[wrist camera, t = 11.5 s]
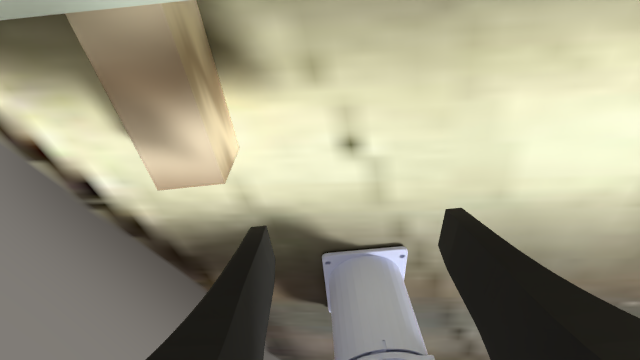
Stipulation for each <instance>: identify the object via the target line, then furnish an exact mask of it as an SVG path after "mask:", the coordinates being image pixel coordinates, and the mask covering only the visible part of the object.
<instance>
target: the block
mask: <svg viewBox="0 0 640 360" xmlns="http://www.w3.org/2000/svg"><path fill="white" fill-rule="evenodd" d="M178 1H187V0H0V20H8V19H17V18H27V17H36V16H46V15H55V14H65V13H74V12H83V11H93V10H102V9H112V8H121V7H131V6H140V5H150V4H159V3H169V2H178Z"/></svg>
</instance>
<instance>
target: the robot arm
mask: <svg viewBox="0 0 640 360" xmlns="http://www.w3.org/2000/svg"><path fill="white" fill-rule="evenodd" d="M438 246H439V249H440V252H441V255H442V257H443V260H444V263H445V265H446V268H447V270H448V272H449V274H450V276H451V278H452V280H453V282H454V284H455V286H456V288H457V290H458V291H459V293H460V295H461V297H462V299H463V301H464V303H465V305H466V307H467V309H468V310H469V312H470V314H471V316H472V318H473V320H474V322H475V324H476V326H477V328H478V330H479V332H480V335H481V337H482V340H483V342H484V344H485V347H486V349H487V352H488V354H489V357H490V359H491V360H640V318H638V317H636V316H633V315H631V314H629V313H627V312H625V311H623V310H621V309H619V308H617V307H615V306H613V305H611V304H609V303H607V302H605V301H603V300H601V299H600V298H598V297H596V296H594V295H592V294H590V293H588V292H586V291H584V290H583V289H581V288H579V287H577V286H575V285H574V284H572V283H570V282H569V281H567V280H565V279H563V278H562V277H560V276H558V275H556V274H555V273H553V272H552V271H550V270H548V269H547V268H545V267H543V266H542V265H540V264H539V263H537V262H536V261H534V260H533V259H531V258H530V257H528V256H527V255H525V254H524V253H522V252H521V251H519V250H518V249H516V248H515V247H514V246H512V245H511V244H509V243H508V242H507V241H505V240H504V239H502V238H501V237H500V236H498V235H497V234H496V233H494V232H493V231H492V230H490V229H489V228H488V227H486V226H485V225H484V224H482V223H481V222H480V221H478V220H477V219H476V218H474V217H473V216H472V215H470V214H469V213H468V212H466V211H465V210H464V209H462V208H454V209H446V211H445V216H444V220H443V225H442V229H441V234H440V239H439V243H438ZM407 254H408V251H407V248H406V247H404V246H400V247H389V248H377V249H366V250H355V251H344V252H333V253H325V254H323V255H322V262H323V270H324V278H325V286H326V294H327V302H328V310H329V312H331V315H332V328H333V341H334V354H335V360H435V358H434V356H433V355H428V353H427V350H426V347H425V344H424V341H423V338H422V335H421V332H420V329H419V326H418V323H417V320H416V317H415V314H414V311H413V308H412V305H411V302H410V299H409V296H408V293H407V290H406V287H405V284H404V277H405V269H406V262H407ZM327 261H328V262H327ZM274 279H275V256H274V253H273V249H272V245H271V241H270V238H269V234H268V230H267V226H258V227H251V228H250V229H249V231H248V232H247V234H246V236H245V238H244V239H243V241H242V243H241V244H240V246H239V247H238V249H237V251H236V252H235V254H234V255H233V257H232V258H231V260H230V261H229V263H228V264H227V266H226V267H225V269H224V270H223V272H222V273H221V275H220V276H219V277H218V279H217V280H216V282H215V283H214V284H213V286H212V287H211V288H210V290H209V291H208V292H207V294H206V295H205V296H204V297H203V299H202V300H201V301H200V302H199V304H198V305H197V306H196V307H195V308H194V310H193V311H192V312H191V313H190V314H189V315H188V317H187V318H186V319H185V320H184V321H183V322H182V323H181V324H180V326H179V327H178V328H177V329H176V330H175V331H174V332H173V333H172V334H171V335H170V336H169V337H168V338H167V339H166V340H165V342H163V344H161V345H160V346H159V347H158V349H156V350H155V351H154V352H153V353H152V354H151V355H150V356H149V357H148V358H147V359H146V360H263V356H264V346H265V338H266V332H267V326H268V320H269V314H270V308H271V301H272V295H273V289H274Z"/></svg>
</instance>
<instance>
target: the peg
mask: <svg viewBox="0 0 640 360" xmlns="http://www.w3.org/2000/svg"><path fill="white" fill-rule="evenodd" d="M65 15H66V17H67V19H68V21H69V23H70V25H71V27H72V29H73V30H74V32H75V34H76V36H77V38H78V40H79V42H80V44H81V46H82V47H83V49H84V51H85V53H86V55H87V57H88V59H89V61H90V63H91V65H92V66H93V68H94V70H95V72H96V74H97V76H98V78H99V80H100V82H101V83H102V85H103V87H104V89H105V91H106V93H107V95H108V97H109V99H110V101H111V102H112V104H113V106H114V108H115V110H116V112H117V114H118V116H119V118H120V119H121V121H122V123H123V125H124V127H125V129H126V131H127V133H128V135H129V137H130V138H131V140H132V142H133V144H134V146H135V148H136V150H137V152H138V154H139V155H140V157H141V159H142V161H143V163H144V165H145V167H146V169H147V171H148V173H149V174H150V176H151V178H152V180H153V182H154V184H155V186H156V188H157V190H167V189H177V188H187V187H196V186H206V185H216V184H225V182H226V180H227V177H228V175H229V172H230V170H231V168H232V165H233V163H234V160H235V158H236V156H237V153H238V151H239V145H238V141H237V138H236V135H235V131H234V128H233V124H232V121H231V117H230V114H229V111H228V107H227V104H226V100H225V97H224V93H223V90H222V87H221V83H220V80H219V76H218V73H217V69H216V66H215V63H214V59H213V56H212V52H211V49H210V45H209V42H208V39H207V35H206V32H205V28H204V25H203V21H202V18H201V15H200V11H199V8H198V4H197V1H196V0H187V1H178V2H169V3H159V4H150V5H140V6H131V7H121V8H112V9H102V10H93V11H83V12H74V13H65Z"/></svg>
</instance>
